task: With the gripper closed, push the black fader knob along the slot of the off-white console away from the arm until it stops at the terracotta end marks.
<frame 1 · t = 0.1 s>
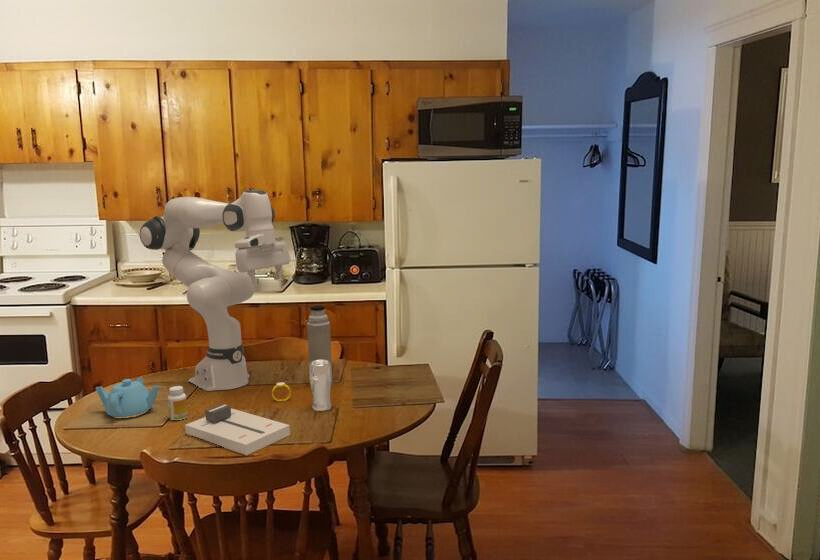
hand: (266, 281, 217), 39 cm above the table, tool pointing down, fingers open, 8 cm apart
thermos bottle: (321, 384, 234), on the table
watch: (281, 401, 218), on the table
fader knob: (218, 413, 195), point 5 cm above the table, slide at 0.0 cm
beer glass: (322, 408, 211), on the table
fader console: (237, 434, 191), on the table
teapot: (130, 412, 211), on the table
supplement bottle: (178, 418, 205), on the table
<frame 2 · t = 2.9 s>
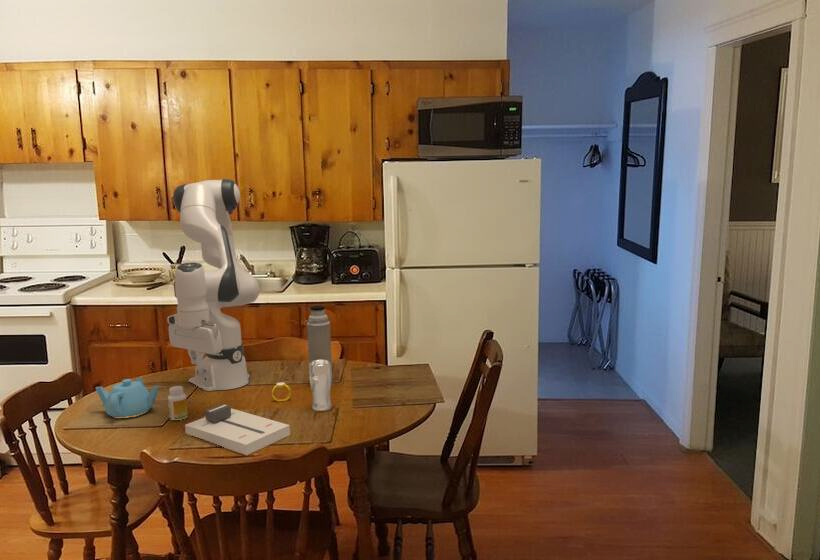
hand: (197, 364, 197), 19 cm above the table, tool pointing down, fingers closed
nothing on the table moved.
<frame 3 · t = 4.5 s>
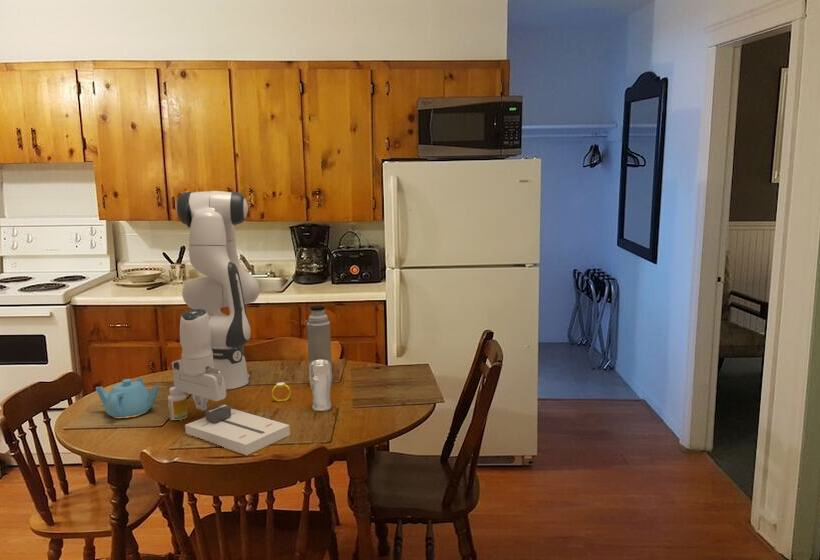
hand: (201, 409, 199), 5 cm above the table, tool pointing down, fingers closed
nothing on the table moved.
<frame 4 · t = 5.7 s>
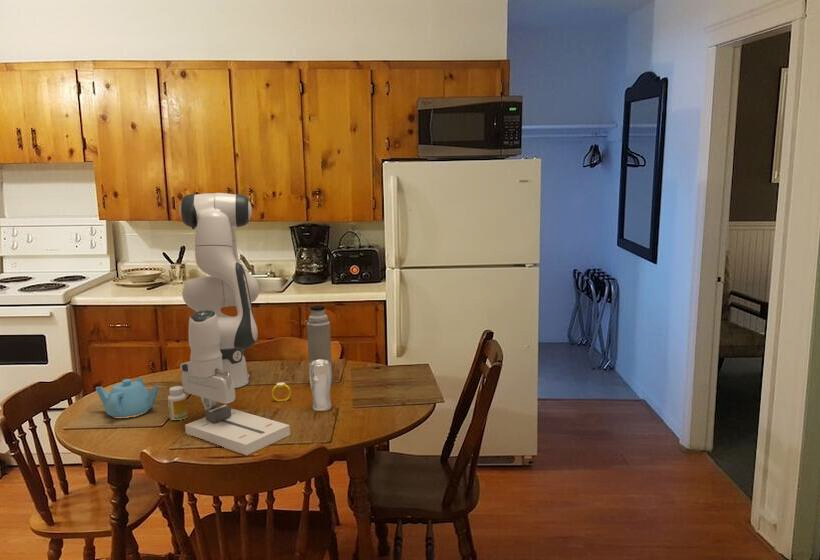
hand: (210, 411, 196), 5 cm above the table, tool pointing down, fingers closed
fader knob: (218, 413, 195), point 5 cm above the table, slide at 0.0 cm, touching gripper
everything else where it was.
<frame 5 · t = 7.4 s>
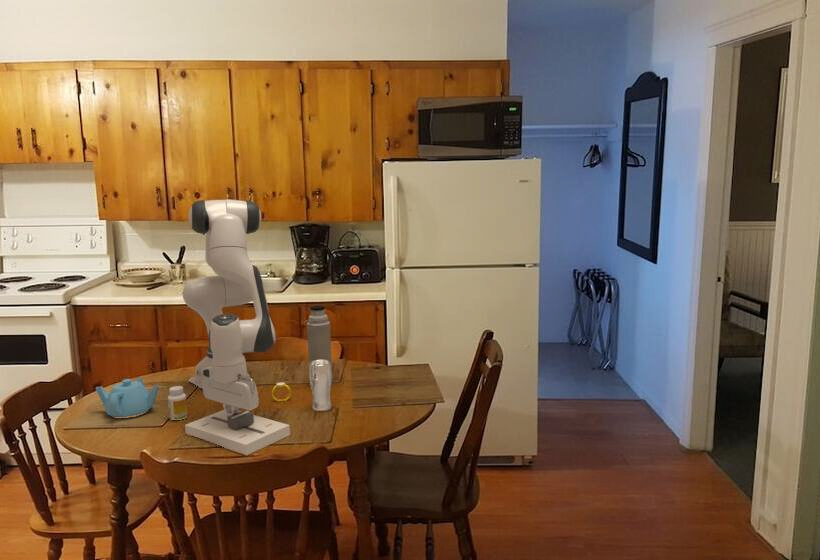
hand: (232, 418, 191), 5 cm above the table, tool pointing down, fingers closed
fader knob: (240, 419, 189), point 5 cm above the table, slide at 9.8 cm, touching gripper
everything else where it was.
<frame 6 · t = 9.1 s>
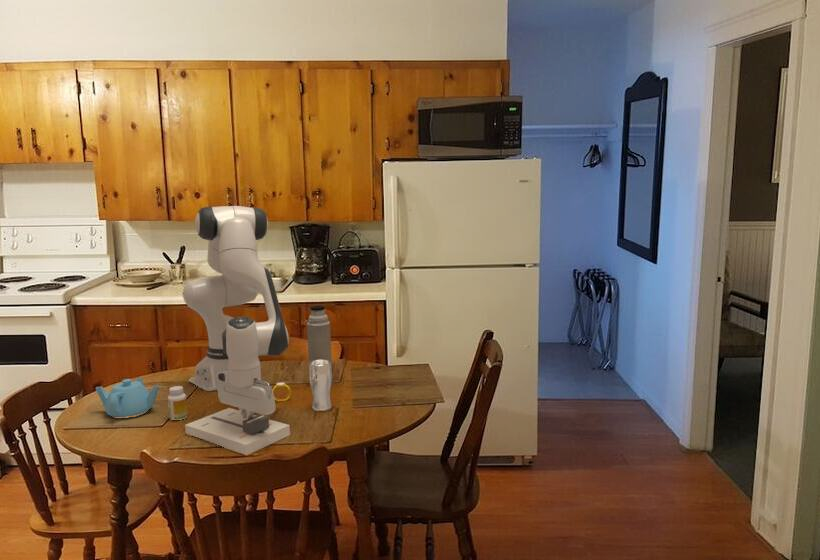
hand: (247, 423, 187), 5 cm above the table, tool pointing down, fingers closed
fader knob: (255, 424, 185), point 5 cm above the table, slide at 16.1 cm, touching gripper
everything else where it was.
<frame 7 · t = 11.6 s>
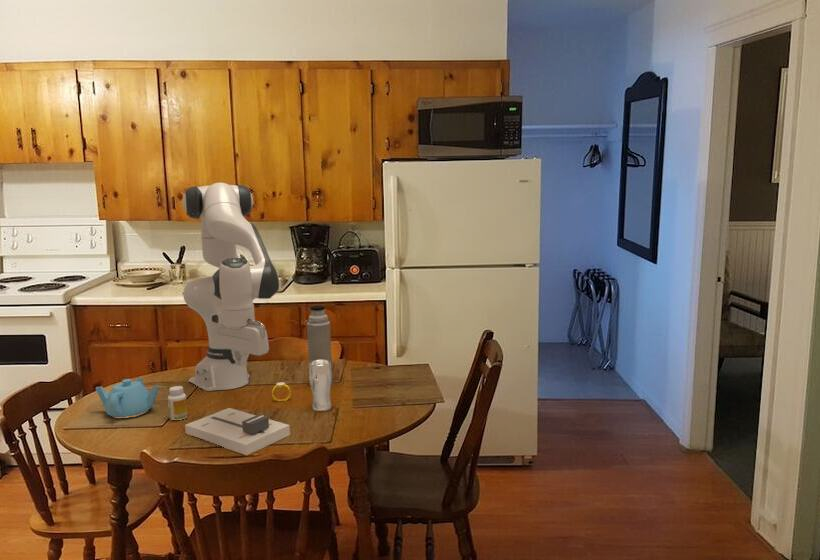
hand: (241, 365, 186), 21 cm above the table, tool pointing down, fingers closed
fader knob: (255, 424, 185), point 5 cm above the table, slide at 16.0 cm
everything else where it was.
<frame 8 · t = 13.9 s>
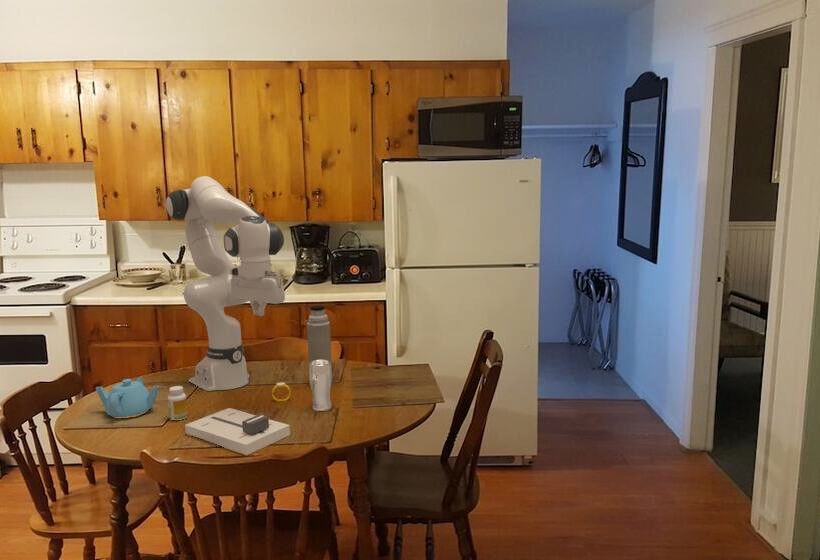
hand: (259, 315, 203), 31 cm above the table, tool pointing down, fingers closed
nothing on the table moved.
at the end: fader knob slide at 16.0 cm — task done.
